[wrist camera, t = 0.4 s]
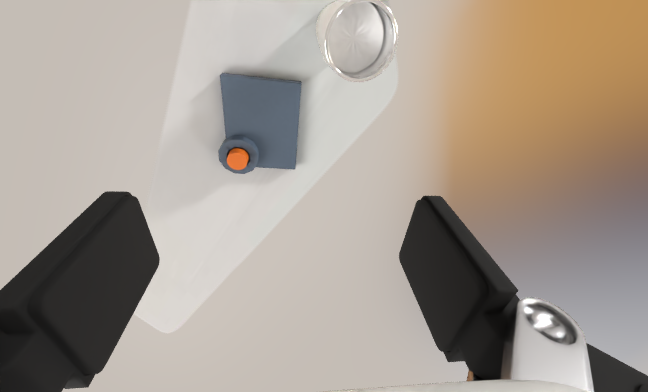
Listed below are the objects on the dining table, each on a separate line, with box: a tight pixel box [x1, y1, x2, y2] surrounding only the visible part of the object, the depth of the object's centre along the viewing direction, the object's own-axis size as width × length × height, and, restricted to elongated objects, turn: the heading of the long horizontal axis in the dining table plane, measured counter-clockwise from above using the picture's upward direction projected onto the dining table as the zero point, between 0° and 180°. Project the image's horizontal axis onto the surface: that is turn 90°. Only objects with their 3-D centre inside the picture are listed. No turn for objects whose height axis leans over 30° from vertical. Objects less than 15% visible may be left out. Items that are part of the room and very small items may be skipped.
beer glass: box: [316, 0, 398, 82], centre depth 29 cm, size 7×7×15 cm
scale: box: [219, 73, 301, 174], centre depth 41 cm, size 14×12×3 cm
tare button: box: [227, 148, 249, 170], centre depth 41 cm, size 3×3×2 cm
